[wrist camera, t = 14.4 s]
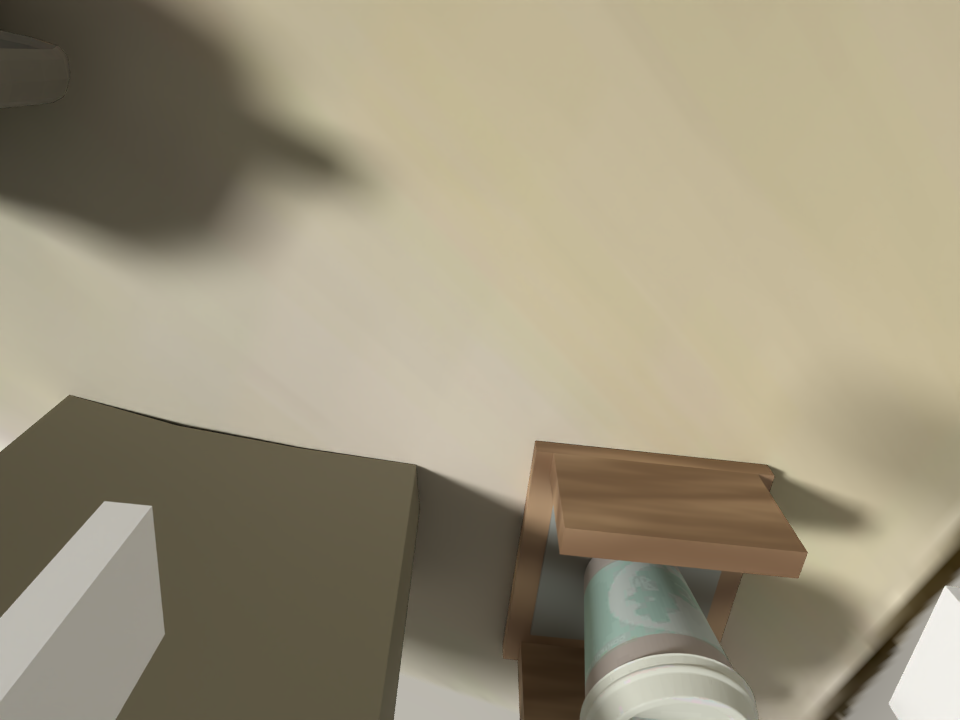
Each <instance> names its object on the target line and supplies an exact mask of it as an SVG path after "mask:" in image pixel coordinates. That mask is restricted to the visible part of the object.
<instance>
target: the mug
mask: <svg viewBox="0 0 960 720" xmlns="http://www.w3.org/2000/svg"><path fill="white" fill-rule="evenodd" d="M69 77H70V69H69V64H68V59H67V55H66V54H65V53H64V52H63V51H62V50H61V49H60V48H59V47H58V46H57V45H54V44H51V43H48V42H45V41H42V40H39V39H35V38H32V37H27V36H23V35H18V34H14V33H10V32H5V31H1V30H0V108H7V107H18V106H28V105H36V104H44V103H52V102H55V101H57V100H58V99H60V98H62V97H64V95H65V93H66V91H67V86H68V82H69Z"/></svg>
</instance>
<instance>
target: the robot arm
mask: <svg viewBox="0 0 960 720" xmlns="http://www.w3.org/2000/svg"><path fill="white" fill-rule="evenodd" d="M164 635H165V630H164V620H163V610H162V600H161V590H160V580H159V570H158V560H157V550H156V540H155V530H154V520H153V510H152V506H148V505H138V504H128V503H118V502H108V501H104V502H103V503H102V505H101V506H100V507H99V508H98V509H97V510H96V511H95V512H94V513H93V515H92V516H91V517H90V518H89V519H88V520H87V521H86V522H85V524H84V525H83V526H82V527H81V528H80V529H79V530H78V531H77V533H76V534H75V535H74V536H73V537H72V538H71V539H70V540H69V541H68V543H67V544H66V545H65V546H64V547H63V548H62V549H61V550H60V552H59V553H58V554H57V555H56V556H55V557H54V558H53V559H52V561H51V562H50V563H49V564H48V565H47V566H46V567H45V568H44V569H43V571H42V572H41V573H40V574H39V575H38V576H37V577H36V578H35V580H34V581H33V582H32V583H31V584H30V585H29V586H28V587H27V589H26V590H25V591H24V592H23V593H22V594H21V595H20V596H19V597H18V599H17V600H16V601H15V602H14V603H13V604H12V605H11V606H10V608H9V609H8V610H7V611H6V612H5V613H4V614H3V615H2V617H1V618H0V720H116V718H117V716H118V714H119V713H120V711H121V709H122V707H123V706H124V704H125V702H126V701H127V699H128V697H129V695H130V694H131V692H132V690H133V689H134V687H135V685H136V683H137V682H138V680H139V678H140V676H141V675H142V673H143V671H144V670H145V668H146V666H147V664H148V663H149V661H150V659H151V657H152V656H153V654H154V652H155V651H156V649H157V647H158V645H159V644H160V642H161V640H162V638H163V637H164ZM889 705H890V707H891V709H892V710H893V712H894V713H895V715H896V717H897V718H898V720H960V587H954V586H945V587H944V589H943V591H942V593H941V595H940V597H939V600H938V602H937V604H936V606H935V608H934V610H933V612H932V614H931V616H930V618H929V621H928V623H927V625H926V627H925V629H924V631H923V633H922V635H921V637H920V639H919V641H918V643H917V646H916V648H915V650H914V652H913V654H912V656H911V658H910V660H909V663H908V664H907V667H906V669H905V671H904V673H903V675H902V677H901V679H900V681H899V683H898V685H897V687H896V690H895V692H894V694H893V696H892V698H891V700H890V702H889Z"/></svg>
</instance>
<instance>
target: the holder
mask: <svg viewBox="0 0 960 720" xmlns="http://www.w3.org/2000/svg"><path fill="white" fill-rule="evenodd" d="M774 477H775V476H774V474H773V473H772V471H771V470H770V468H769V467H768V465H763V464H753V463H743V462H734V461H724V460H715V459H705V458H696V457H686V456H676V455H667V454H657V453H648V452H638V451H629V450H619V449H609V448H600V447H590V446H581V445H571V444H562V443H552V442H542V441H535V447H534V453H533V459H532V465H531V471H530V478H529V484H528V490H527V496H526V503H525V509H524V515H523V521H522V528H521V534H520V540H519V546H518V553H517V559H516V565H515V571H514V578H513V584H512V590H511V596H510V603H509V609H508V615H507V621H506V627H505V634H504V640H503V659H513V660H518V682H519V709H520V720H580V712H581V708H582V705H583V702H584V700H585V649H584V574H585V570H586V567H587V565H588V564H589V562H590V561H591V559H592V558H601V559H611V560H621V561H631V562H641V563H651V564H661V565H670V566H677V567H678V569H679V571H680V572H681V574H682V576H683V578H684V580H685V581H686V583H687V585H688V587H689V589H690V590H691V592H692V594H693V596H694V598H695V600H696V601H697V603H698V605H699V607H700V609H701V611H702V612H703V614H704V616H705V618H706V620H707V622H708V623H709V625H710V627H711V629H712V631H713V632H714V634H715V636H716V638H717V640H718V642H719V643H720V642H721V639H722V636H723V633H724V630H725V626H726V623H727V620H728V617H729V614H730V611H731V608H732V605H733V602H734V599H735V596H736V593H737V590H738V587H739V584H740V581H741V578H742V574H743V573H750V574H760V575H770V576H780V577H790V578H799V575H800V572H801V570H802V567H803V564H804V562H805V559H806V556H807V553H808V552H807V551H806V549H805V548H804V546H803V544H802V543H801V541H800V540H799V538H798V537H797V535H796V533H795V532H794V530H793V529H792V527H791V526H790V524H789V522H788V521H787V519H786V518H785V516H784V515H783V513H782V511H781V510H780V508H779V507H778V505H777V504H776V502H775V500H774V499H773V497H772V496H771V494H770V493H769V492H770V489H771V486H772V483H773V480H774Z"/></svg>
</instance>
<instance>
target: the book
mask: <svg viewBox="0 0 960 720" xmlns="http://www.w3.org/2000/svg"><path fill="white" fill-rule="evenodd" d="M104 501H108V502H118V503H128V504H138V505H148V506H152V510H153V520H154V530H155V540H156V550H157V560H158V570H159V580H160V590H161V600H162V610H163V620H164V630H165V635H164V637H163V638H162V640H161V642H160V644H159V645H158V647H157V649H156V651H155V652H154V654H153V656H152V657H151V659H150V661H149V663H148V664H147V666H146V668H145V670H144V671H143V673H142V675H141V676H140V678H139V680H138V682H137V683H136V685H135V687H134V689H133V690H132V692H131V694H130V695H129V697H128V699H127V701H126V702H125V704H124V706H123V707H122V709H121V711H120V713H119V714H118V716H117V718H116V720H394V712H395V704H396V696H397V688H398V680H399V672H400V664H401V656H402V648H403V640H404V632H405V624H406V616H407V607H408V599H409V591H410V583H411V575H412V567H413V559H414V551H415V543H416V535H417V527H418V519H419V511H420V506H419V494H418V482H417V469H416V465H414V464H407V463H400V462H393V461H386V460H379V459H372V458H365V457H358V456H351V455H344V454H337V453H330V452H323V451H316V450H309V449H302V448H296V447H290V446H285V445H280V444H274V443H269V442H263V441H258V440H253V439H247V438H242V437H236V436H231V435H225V434H220V433H215V432H209V431H204V430H198V429H193V428H188V427H182V426H177V425H173V424H170V423H166V422H163V421H159V420H156V419H152V418H149V417H145V416H142V415H138V414H134V413H131V412H127V411H124V410H120V409H117V408H113V407H110V406H106V405H103V404H99V403H96V402H92V401H89V400H85V399H82V398H78V397H75V396H71V395H69V396H67V397H66V398H65V399H64V400H63V401H61V402H60V403H59V404H58V405H57V406H55V407H54V408H53V409H52V410H51V411H49V412H48V413H47V414H46V415H44V416H43V417H42V418H41V419H40V420H38V421H37V422H36V423H35V424H34V425H32V426H31V427H30V428H29V429H28V430H26V431H25V432H24V433H23V434H22V435H20V436H19V437H18V438H17V439H15V440H14V441H13V442H12V443H11V444H9V445H8V446H7V447H6V448H5V449H3V450H2V451H1V452H0V618H1V617H2V615H3V614H4V613H5V612H6V611H7V610H8V609H9V608H10V606H11V605H12V604H13V603H14V602H15V601H16V600H17V599H18V597H19V596H20V595H21V594H22V593H23V592H24V591H25V590H26V589H27V587H28V586H29V585H30V584H31V583H32V582H33V581H34V580H35V578H36V577H37V576H38V575H39V574H40V573H41V572H42V571H43V569H44V568H45V567H46V566H47V565H48V564H49V563H50V562H51V561H52V559H53V558H54V557H55V556H56V555H57V554H58V553H59V552H60V550H61V549H62V548H63V547H64V546H65V545H66V544H67V543H68V541H69V540H70V539H71V538H72V537H73V536H74V535H75V534H76V533H77V531H78V530H79V529H80V528H81V527H82V526H83V525H84V524H85V522H86V521H87V520H88V519H89V518H90V517H91V516H92V515H93V513H94V512H95V511H96V510H97V509H98V508H99V507H100V506H101V505H102V503H103V502H104Z"/></svg>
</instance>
